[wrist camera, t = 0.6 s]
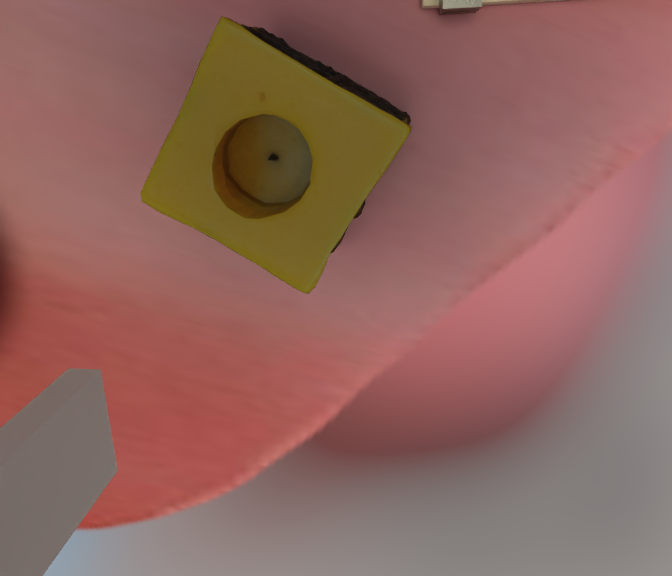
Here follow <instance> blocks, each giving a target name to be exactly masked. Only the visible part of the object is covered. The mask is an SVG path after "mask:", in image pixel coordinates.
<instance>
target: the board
mask: <svg viewBox="0 0 672 576" xmlns="http://www.w3.org/2000/svg"><path fill="white" fill-rule="evenodd" d="M548 1H564V0H482V5H497V4H514V3H531V2H548ZM429 8H439V0H422V9H429Z"/></svg>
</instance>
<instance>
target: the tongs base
mask: <svg viewBox="0 0 672 576" xmlns="http://www.w3.org/2000/svg"><path fill="white" fill-rule="evenodd" d="M481 7H482V0H439V15H446V14H463V13H475V12H477V11H478V10H479V9H480V8H481Z"/></svg>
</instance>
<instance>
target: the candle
mask: <svg viewBox="0 0 672 576" xmlns="http://www.w3.org/2000/svg"><path fill="white" fill-rule="evenodd" d="M410 122H411V120H410V116H409V115H408V114H407V113H406V112H402V111H400V110H398V109H397V108H396V107H394V106H393V105H391V104H390V103H389V102H388V101H387V100H385V99H383V98H381V97H378V96H377V95H376V94H375V93H373V92H372V91H370V90H368V89H366V88H364V87H362V86H360V85H358V84H357V83H355V82H354V81H352V80H351V79H349V78H348V77H346V76H345V75H342V74H340V73H339V72H335V71H334V70H333V69H332V67H328V66H325V65H324V64H322V63H321V62H320V61H314V60H313V59H311V58H309V57H307V56H306V55H304V54H302V53H300V52H298V51H296V50H294V49H293V48H291V47H289V46H288V45H287V43H286V42H285V41H284V40H283V39H282V38H277V37H276V36H274V35H273V34H270V33H268V32H267V31H266V30H265V29H263V28H257V27H247V26H245V25H242V24H241V25H240V24H238V23H237V22H234V21H233V20H231V19H229V18H226V17H223V16H221V18H220V21H219V23H218V25H217V27H216V29H215V31H214V33H213V35H212V37H211V39H210V41H209V44H208V46H207V48H206V50H205V52H204V55H203V57H202V59H201V61H200V63H199V66H198V68H197V71H196V74H195V76H194V79H193V82H192V85H191V87H190V89H189V92H188V94H187V96H186V99H185V101H184V103H183V106H182V108H181V110H180V112H179V115H178V117H177V119H176V121H175V123H174V125H173V127H172V129H171V131H170V132H169V134H168V136H167V138H166V140H165V142H164V144H163V146H162V148H161V150H160V152H159V154H158V157H157V159H156V161H155V163H154V165H153V168H152V170H151V172H150V174H149V176H148V178H147V180H146V182H145V184H144V187H143V189H142V191H141V197H142V202H144V203H146V204H147V205H149V206H150V207H152V208H154V209H155V210H157V211H158V212H160V213H162V214H165V215H167V216H169V217H171V218H173V219H175V220H177V221H179V222H181V223H184V224H186V225H188V226H190V227H193V228H195V229H197V230H198V231H200V232H202V233H204V234H205V235H207V236H209V237H211V238H213V239H215V240H217V241H218V242H220V243H222V244H223V245H225V246H227V247H228V248H230V249H231V250H233V251H235V252H236V253H238V254H240V255H242V256H244V257H245V258H247V259H249V260H251V261H252V262H254V263H256V264H257V265H259V266H261V267H262V268H264V269H265V270H267V271H268V272H270V273H271V274H273V275H274V276H276V277H278V278H279V279H281V280H282V281H284V282H286V283H287V284H289V285H291V286H292V287H294V288H296V289H297V290H299V291H301V292H303V293H307V294H308V293H309V292H310V291H311V290H312V289H313V288H315V286H316V284H317V282H318V280H319V278H320V276H321V274H322V272H323V270H324V267H325V265H326V262H327V260H328V257H329V255H330V254H331V253H332V252H334V250H335V249H336V248H337V246H338V245H339V244H340V242H341V241H342V239H343V237H344V235H345V232H346V230H347V228H348V225H349V224H350V222H351V221H352V219H353V218H357V217H358V216H359V215H360V214H361V212H362V209H363V207H364V205H365V199H366V197H367V196H368V195H369V193H370V192H371V190H372V189H373V187H374V186H375V185H376V183H377V182H378V180H379V179H380V178H381V177H382V175H383V174H384V173H385V171H386V170H387V168H388V167H389V165H390V163H391V162H392V160H393V159H394V157H395V155H396V154H397V152H398V151H399V149H400V148H401V146H402V145H403V143H404V142H405V140H406V139H407V137H408V135H409V133H410V131H411V127H412V126H410V125H409V124H410Z"/></svg>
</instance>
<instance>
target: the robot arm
mask: <svg viewBox="0 0 672 576" xmlns="http://www.w3.org/2000/svg"><path fill="white" fill-rule="evenodd" d="M117 471H118V469H117V464H116V458H115V452H114V446H113V440H112V434H111V428H110V422H109V417H108V411H107V405H106V399H105V393H104V387H103V381H102V375H101V370H100V369H68V370H66V371H65V372H64V373H63V374H62V375H61V376H60V377H58V378H57V379H56V380H55V381H54V382H53V383H51V384H50V385H49V386H48V387H47V388H46V389H45V390H43V391H42V392H41V393H40V394H39V395H38V396H37V397H35V398H34V399H33V400H32V401H31V402H30V403H29V404H27V405H26V406H25V407H24V408H23V409H22V410H21V411H19V412H18V413H17V414H16V415H15V416H14V417H12V418H11V419H10V420H9V421H8V422H7V423H6V424H4V425H3V426H2V427H1V428H0V576H43V574H44V573H45V572H46V570H47V569H48V567H49V566H50V565H51V563H52V562H53V560H54V559H55V558H56V556H57V555H58V553H59V552H60V551H61V549H62V548H63V546H64V545H65V544H66V542H67V541H68V539H69V538H70V537H71V535H72V533H73V532H74V531H75V530H76V528H77V527H78V525H79V524H80V523H81V521H82V520H83V518H84V517H85V515H86V514H87V513H88V511H89V510H90V508H91V507H92V506H93V504H94V503H95V501H96V500H97V499H98V497H99V496H100V494H101V493H102V492H103V490H104V489H105V487H106V486H107V485H108V483H109V482H110V480H111V479H112V478H113V476H114V475H115V473H116V472H117Z"/></svg>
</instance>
